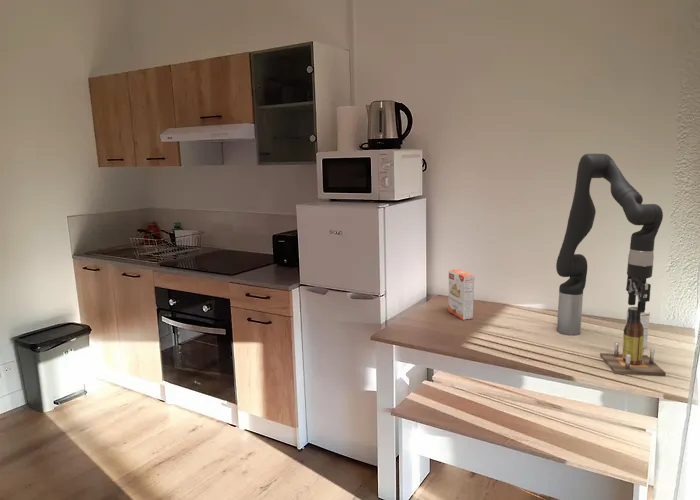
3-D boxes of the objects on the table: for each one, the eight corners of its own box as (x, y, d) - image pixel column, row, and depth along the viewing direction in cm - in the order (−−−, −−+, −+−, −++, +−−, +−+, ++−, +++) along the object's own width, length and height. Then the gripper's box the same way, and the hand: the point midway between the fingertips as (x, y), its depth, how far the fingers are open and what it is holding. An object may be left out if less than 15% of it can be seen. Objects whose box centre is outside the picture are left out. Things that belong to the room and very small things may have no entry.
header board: (599, 356, 192) (600, 352, 191) (646, 358, 189) (646, 354, 189) (614, 373, 176) (615, 370, 176) (665, 376, 174) (665, 372, 173)
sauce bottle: (635, 358, 186) (640, 305, 182) (645, 365, 179) (650, 310, 176) (617, 359, 185) (621, 305, 182) (627, 366, 179) (632, 310, 176)
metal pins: (613, 355, 189) (614, 342, 188) (646, 356, 187) (647, 343, 187) (625, 369, 177) (627, 355, 176) (661, 370, 175) (662, 356, 174)
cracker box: (447, 312, 249) (448, 269, 245) (458, 310, 250) (459, 268, 247) (461, 320, 235) (463, 275, 232) (473, 319, 237) (474, 274, 234)
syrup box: (623, 345, 202) (626, 309, 200) (634, 343, 204) (637, 307, 202) (635, 350, 197) (639, 313, 195) (647, 348, 199) (650, 311, 197)
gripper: (621, 258, 183) (617, 302, 186) (636, 266, 170) (632, 314, 173) (643, 258, 182) (639, 303, 185) (661, 267, 168) (656, 315, 171)
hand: (636, 308), depth 179 cm, fingers open, 8 cm apart
